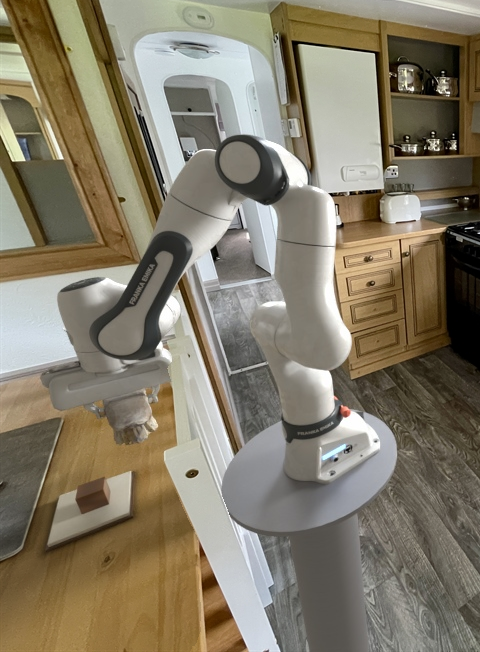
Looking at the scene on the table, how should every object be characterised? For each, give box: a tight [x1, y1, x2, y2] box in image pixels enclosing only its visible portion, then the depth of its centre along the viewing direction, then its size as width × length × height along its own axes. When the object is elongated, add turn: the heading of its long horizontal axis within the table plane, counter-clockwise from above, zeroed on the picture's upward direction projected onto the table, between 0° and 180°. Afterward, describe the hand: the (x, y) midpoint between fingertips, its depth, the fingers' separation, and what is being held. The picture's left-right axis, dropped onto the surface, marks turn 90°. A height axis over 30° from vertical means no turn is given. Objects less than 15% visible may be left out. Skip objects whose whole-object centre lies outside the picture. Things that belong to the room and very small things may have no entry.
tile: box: [44, 470, 136, 553], centre depth 76 cm, size 12×14×1 cm
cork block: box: [75, 476, 111, 514], centre depth 75 cm, size 4×4×4 cm
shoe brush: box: [102, 388, 159, 446], centre depth 83 cm, size 24×8×5 cm, turn 47°
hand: (129, 409), depth 83 cm, fingers closed on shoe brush, 7 cm apart
